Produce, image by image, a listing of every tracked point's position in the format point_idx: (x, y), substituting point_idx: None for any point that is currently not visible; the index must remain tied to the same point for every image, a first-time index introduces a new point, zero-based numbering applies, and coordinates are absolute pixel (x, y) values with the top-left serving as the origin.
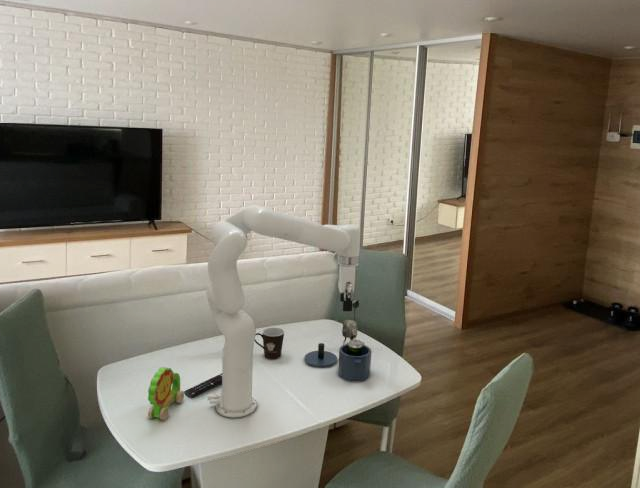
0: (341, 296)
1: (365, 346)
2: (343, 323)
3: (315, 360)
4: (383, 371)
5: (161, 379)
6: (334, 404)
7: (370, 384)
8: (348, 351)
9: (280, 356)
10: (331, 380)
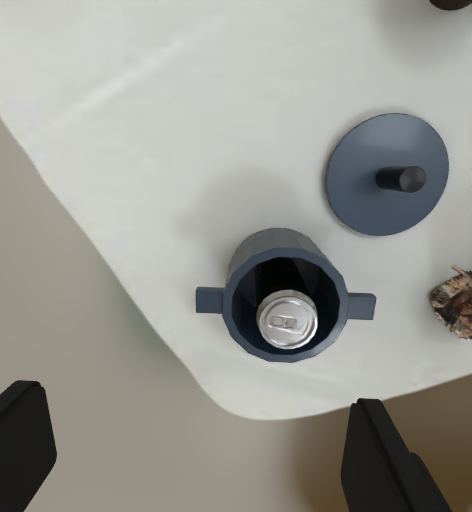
0: (376, 468)
1: (312, 349)
2: None
3: (367, 156)
4: None
5: None
6: (105, 197)
7: None
8: (277, 281)
9: (444, 9)
10: (240, 202)
